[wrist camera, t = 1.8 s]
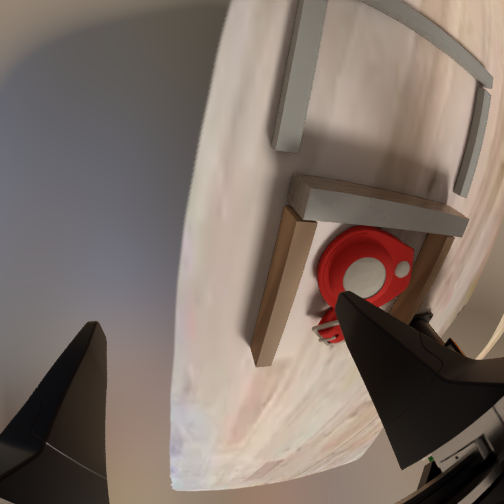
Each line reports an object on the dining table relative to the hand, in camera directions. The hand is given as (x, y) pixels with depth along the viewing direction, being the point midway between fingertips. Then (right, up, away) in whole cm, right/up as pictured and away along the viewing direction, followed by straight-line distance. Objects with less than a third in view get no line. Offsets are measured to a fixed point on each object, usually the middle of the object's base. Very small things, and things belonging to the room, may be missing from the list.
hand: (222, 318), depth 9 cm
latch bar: (+12, +7, +11) cm, 18 cm away
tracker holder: (+10, 0, +16) cm, 18 cm away
